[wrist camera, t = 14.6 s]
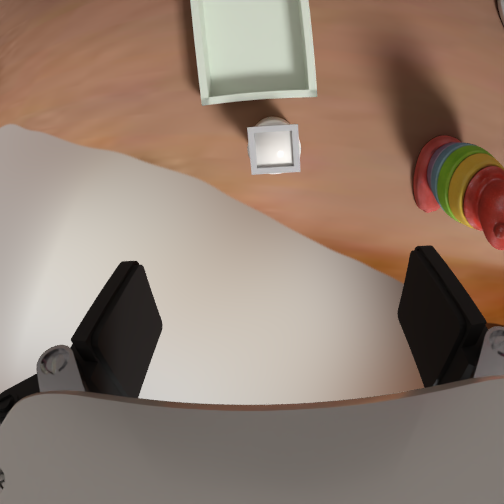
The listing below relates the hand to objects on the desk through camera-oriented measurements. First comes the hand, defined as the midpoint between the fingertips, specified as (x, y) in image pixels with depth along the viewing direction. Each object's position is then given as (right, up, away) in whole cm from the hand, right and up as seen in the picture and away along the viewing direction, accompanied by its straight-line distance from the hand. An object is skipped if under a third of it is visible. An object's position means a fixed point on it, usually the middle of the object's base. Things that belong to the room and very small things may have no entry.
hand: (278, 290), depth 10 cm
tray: (-1, +28, +16) cm, 33 cm away
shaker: (+2, +15, +24) cm, 28 cm away
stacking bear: (+25, +12, +24) cm, 37 cm away
